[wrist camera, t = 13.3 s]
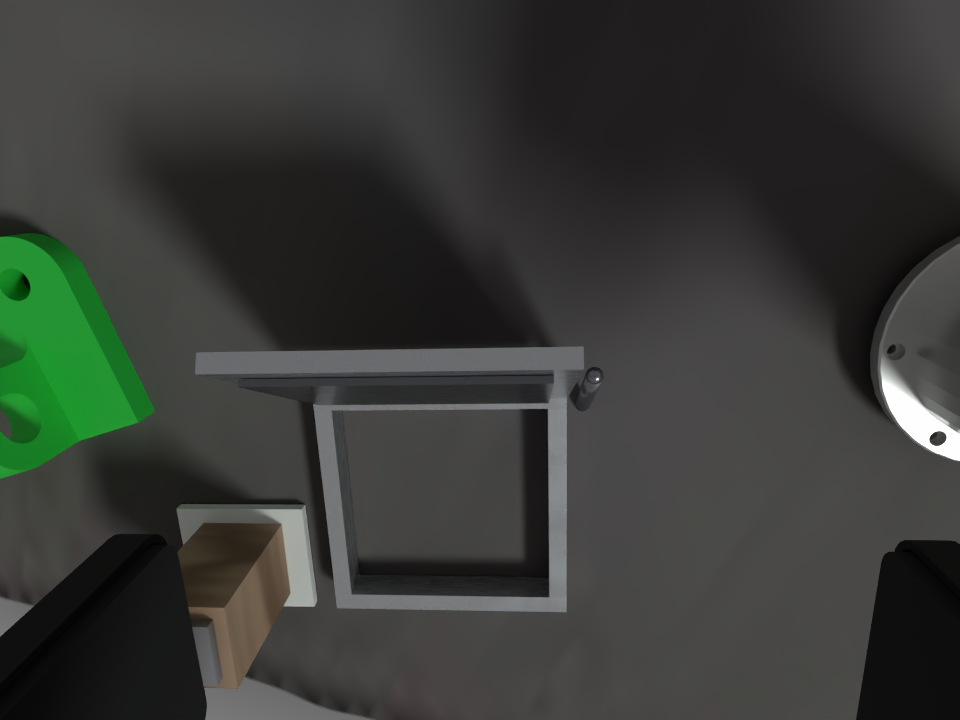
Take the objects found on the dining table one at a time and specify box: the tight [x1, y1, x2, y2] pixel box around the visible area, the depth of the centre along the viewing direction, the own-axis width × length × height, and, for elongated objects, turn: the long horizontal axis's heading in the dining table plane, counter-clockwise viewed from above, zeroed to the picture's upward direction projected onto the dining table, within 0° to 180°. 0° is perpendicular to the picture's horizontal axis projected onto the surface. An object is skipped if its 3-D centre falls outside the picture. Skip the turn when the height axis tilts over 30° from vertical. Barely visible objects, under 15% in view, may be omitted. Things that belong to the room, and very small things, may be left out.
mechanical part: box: [0, 233, 155, 478], centre depth 35 cm, size 12×6×8 cm, turn 18°
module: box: [177, 523, 291, 689], centre depth 38 cm, size 5×5×9 cm
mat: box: [176, 504, 317, 607], centre depth 42 cm, size 8×7×1 cm
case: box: [195, 347, 603, 612], centre depth 33 cm, size 15×20×14 cm
